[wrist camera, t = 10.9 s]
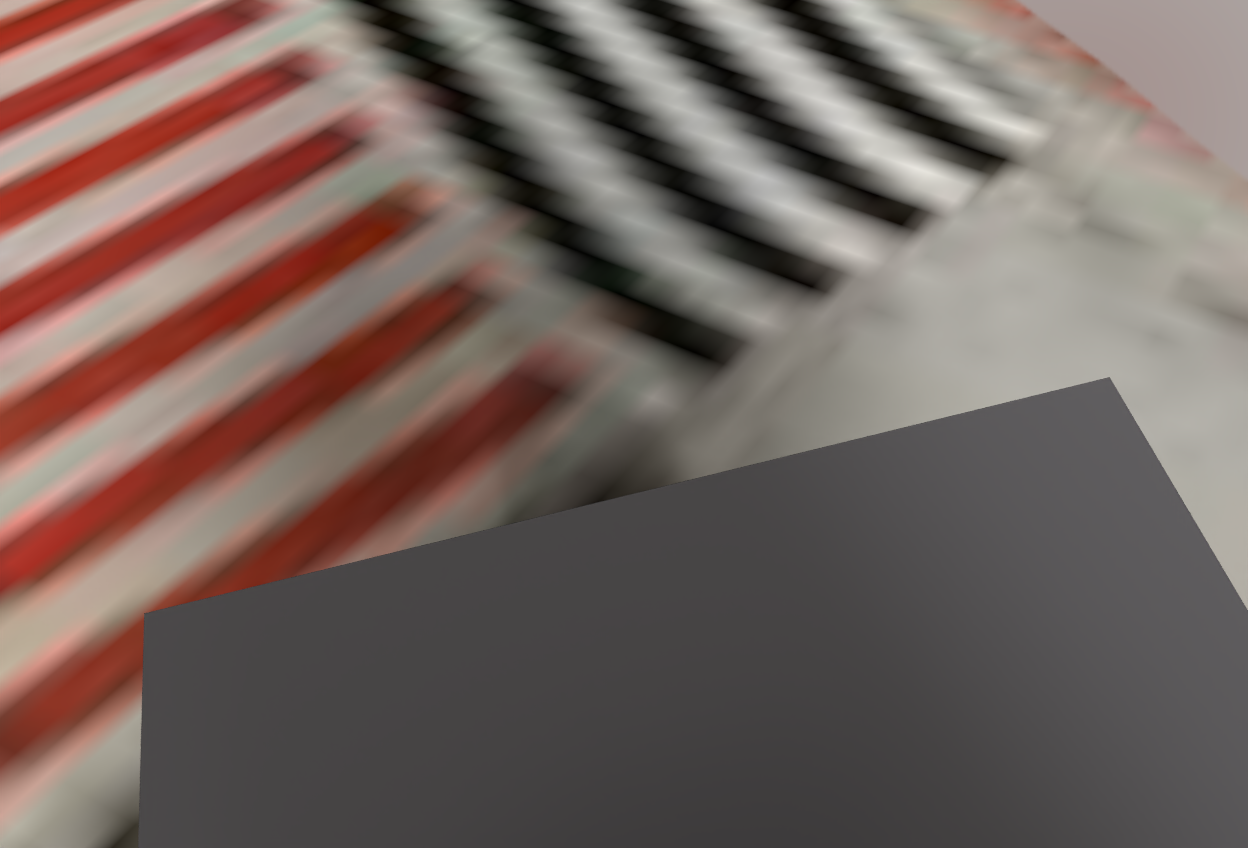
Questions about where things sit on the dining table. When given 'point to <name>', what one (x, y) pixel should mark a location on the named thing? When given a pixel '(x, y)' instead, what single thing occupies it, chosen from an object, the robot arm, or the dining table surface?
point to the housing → (741, 665)
